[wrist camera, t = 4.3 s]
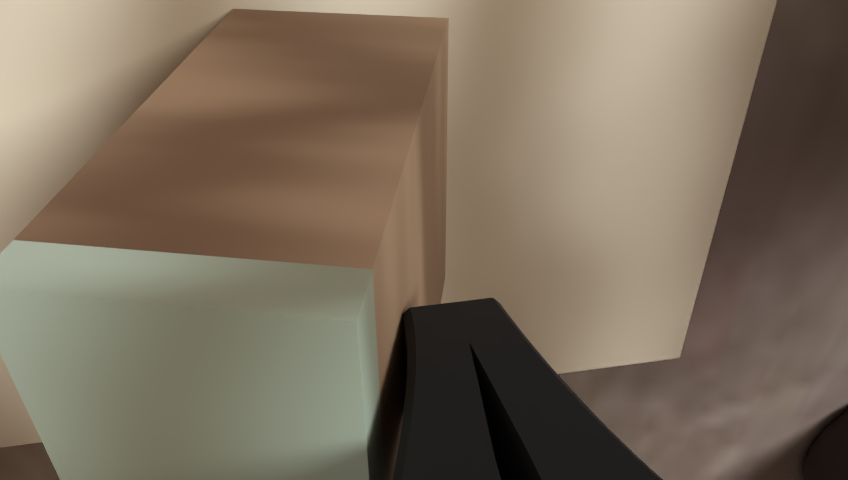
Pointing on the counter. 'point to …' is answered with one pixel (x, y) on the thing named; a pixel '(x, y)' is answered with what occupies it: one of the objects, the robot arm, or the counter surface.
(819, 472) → the bottle
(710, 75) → the birch board
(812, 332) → the counter surface
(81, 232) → the walnut block
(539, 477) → the robot arm
